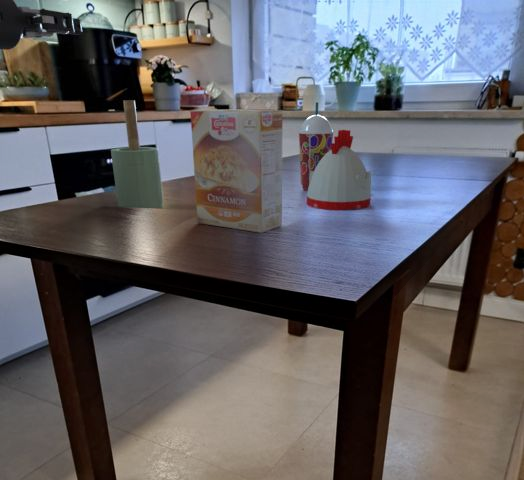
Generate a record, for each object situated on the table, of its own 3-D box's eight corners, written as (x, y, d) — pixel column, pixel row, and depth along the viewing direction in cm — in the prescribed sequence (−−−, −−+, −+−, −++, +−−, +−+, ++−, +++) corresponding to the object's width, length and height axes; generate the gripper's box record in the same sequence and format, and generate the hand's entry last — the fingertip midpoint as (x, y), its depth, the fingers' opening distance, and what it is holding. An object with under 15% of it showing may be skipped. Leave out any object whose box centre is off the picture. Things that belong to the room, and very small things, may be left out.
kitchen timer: (380, 202, 115) (387, 129, 108) (352, 212, 105) (357, 133, 99) (326, 196, 123) (329, 127, 116) (294, 205, 113) (296, 130, 106)
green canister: (110, 212, 108) (102, 151, 103) (131, 203, 116) (124, 146, 111) (152, 213, 106) (146, 151, 101) (170, 205, 114) (165, 147, 109)
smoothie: (327, 192, 127) (331, 102, 118) (294, 191, 129) (295, 102, 120) (333, 187, 134) (337, 102, 125) (301, 186, 136) (303, 102, 127)
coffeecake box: (196, 223, 98) (188, 109, 89) (219, 216, 103) (214, 108, 94) (261, 233, 90) (260, 110, 81) (283, 225, 95) (284, 109, 86)
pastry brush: (129, 205, 109) (116, 100, 101) (136, 202, 113) (124, 100, 104) (144, 205, 109) (133, 100, 100) (151, 202, 112) (141, 100, 103)
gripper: (-50, 49, 78) (32, 56, 91) (21, 45, 72) (97, 52, 86) (-65, -11, 74) (23, 5, 88) (9, -20, 69) (90, -2, 82)
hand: (59, 28), depth 87 cm, fingers open, 8 cm apart
